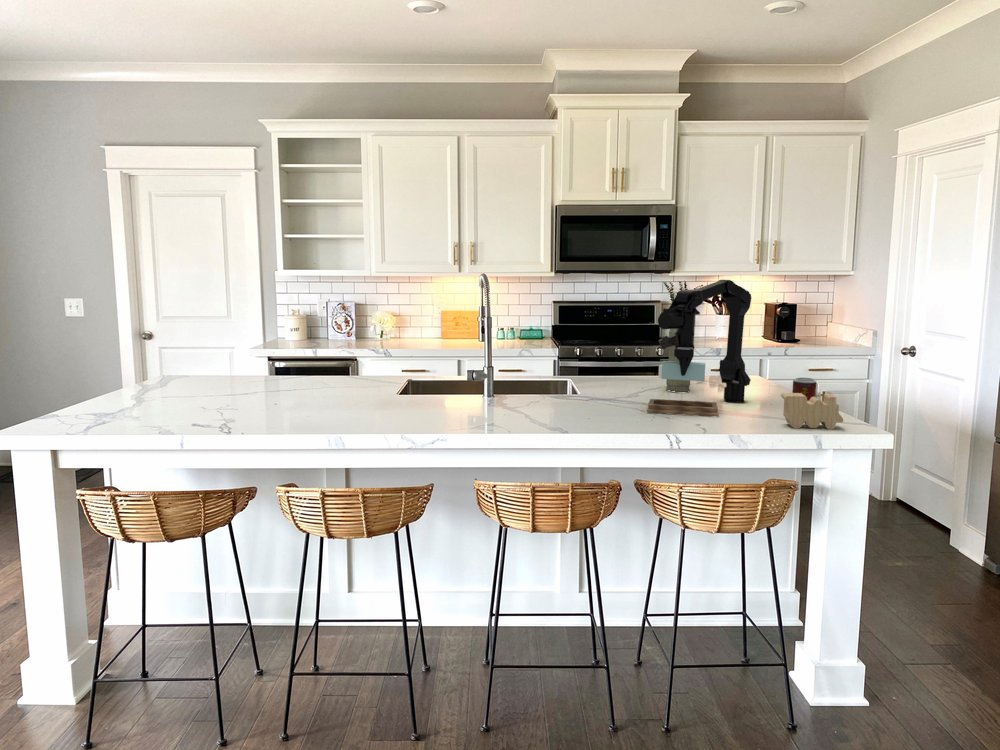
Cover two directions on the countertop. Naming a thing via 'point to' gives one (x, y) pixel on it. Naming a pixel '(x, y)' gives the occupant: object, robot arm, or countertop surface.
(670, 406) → the tray
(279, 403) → the countertop surface
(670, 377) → the pale blue block
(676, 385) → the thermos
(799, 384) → the soda can
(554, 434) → the countertop surface
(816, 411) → the toy train
